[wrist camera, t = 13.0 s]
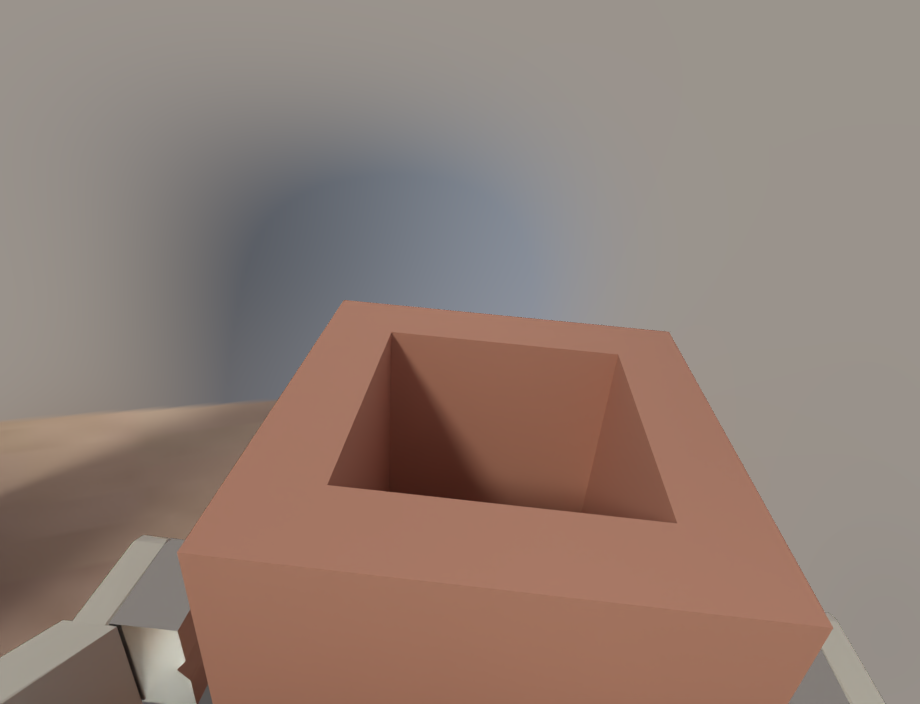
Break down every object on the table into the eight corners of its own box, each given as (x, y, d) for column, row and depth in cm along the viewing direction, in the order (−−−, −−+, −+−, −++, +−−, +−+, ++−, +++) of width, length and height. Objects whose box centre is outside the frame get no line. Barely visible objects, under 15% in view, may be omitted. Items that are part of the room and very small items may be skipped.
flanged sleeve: (67, 1200, 9) (-493, 852, 3) (298, 600, 19) (263, 246, 13) (778, 1313, 8) (1607, 1147, 3) (636, 639, 18) (755, 292, 12)
